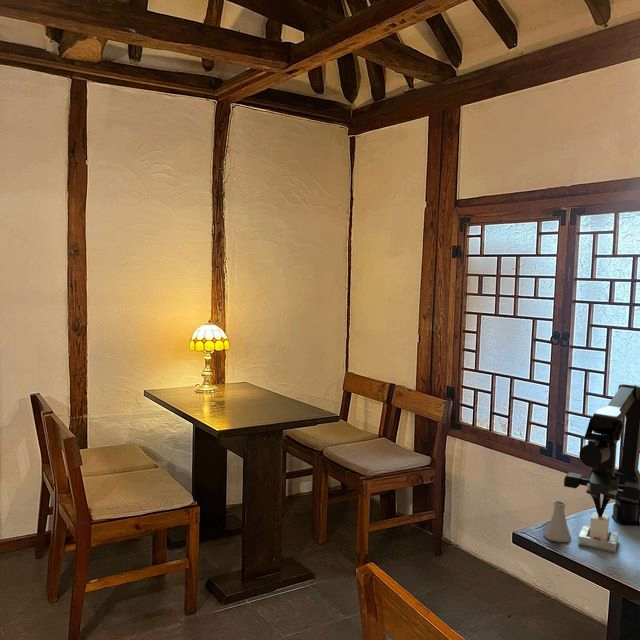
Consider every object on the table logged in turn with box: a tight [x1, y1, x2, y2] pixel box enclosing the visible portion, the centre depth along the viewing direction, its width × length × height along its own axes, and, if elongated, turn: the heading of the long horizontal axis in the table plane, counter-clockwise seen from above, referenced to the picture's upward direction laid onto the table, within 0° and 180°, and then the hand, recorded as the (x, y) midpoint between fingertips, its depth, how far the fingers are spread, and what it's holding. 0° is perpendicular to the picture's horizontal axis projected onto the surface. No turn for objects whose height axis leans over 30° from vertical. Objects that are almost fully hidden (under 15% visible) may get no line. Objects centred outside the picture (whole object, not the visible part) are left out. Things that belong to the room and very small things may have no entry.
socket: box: [577, 524, 619, 554], centre depth 174 cm, size 9×9×3 cm
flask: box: [543, 500, 572, 543], centre depth 177 cm, size 7×7×10 cm
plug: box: [589, 511, 610, 541], centre depth 174 cm, size 6×4×7 cm
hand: (600, 516), depth 174 cm, fingers closed, pressing on plug
